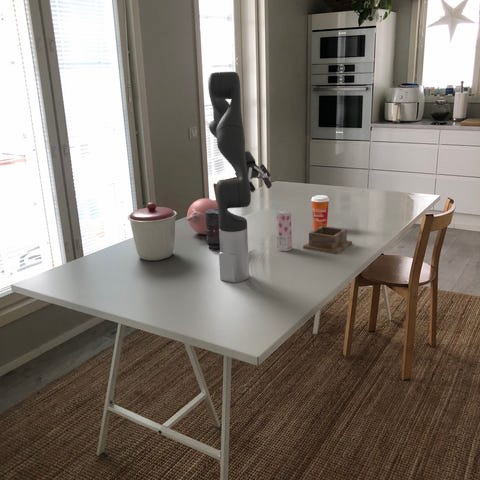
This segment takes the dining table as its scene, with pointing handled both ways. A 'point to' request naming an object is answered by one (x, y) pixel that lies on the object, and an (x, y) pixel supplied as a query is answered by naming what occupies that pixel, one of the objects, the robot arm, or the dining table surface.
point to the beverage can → (284, 230)
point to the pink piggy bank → (200, 214)
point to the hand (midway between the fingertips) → (262, 189)
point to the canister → (153, 231)
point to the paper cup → (320, 210)
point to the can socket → (328, 240)
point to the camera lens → (212, 229)
